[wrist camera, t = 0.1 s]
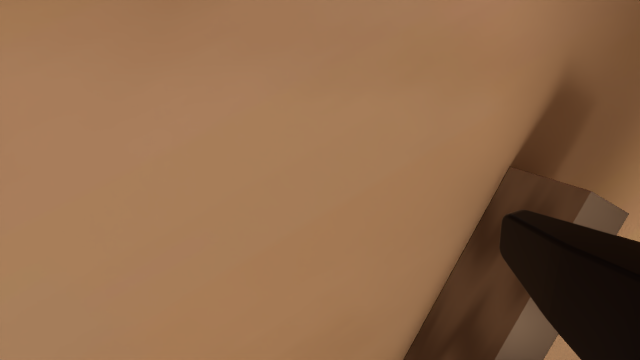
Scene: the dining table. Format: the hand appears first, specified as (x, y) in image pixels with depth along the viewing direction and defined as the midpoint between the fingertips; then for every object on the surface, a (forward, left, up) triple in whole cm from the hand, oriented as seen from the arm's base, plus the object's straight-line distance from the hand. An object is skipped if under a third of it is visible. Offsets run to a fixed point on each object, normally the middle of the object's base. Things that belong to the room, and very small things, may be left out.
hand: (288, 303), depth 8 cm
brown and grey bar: (-5, -17, -15) cm, 24 cm away
